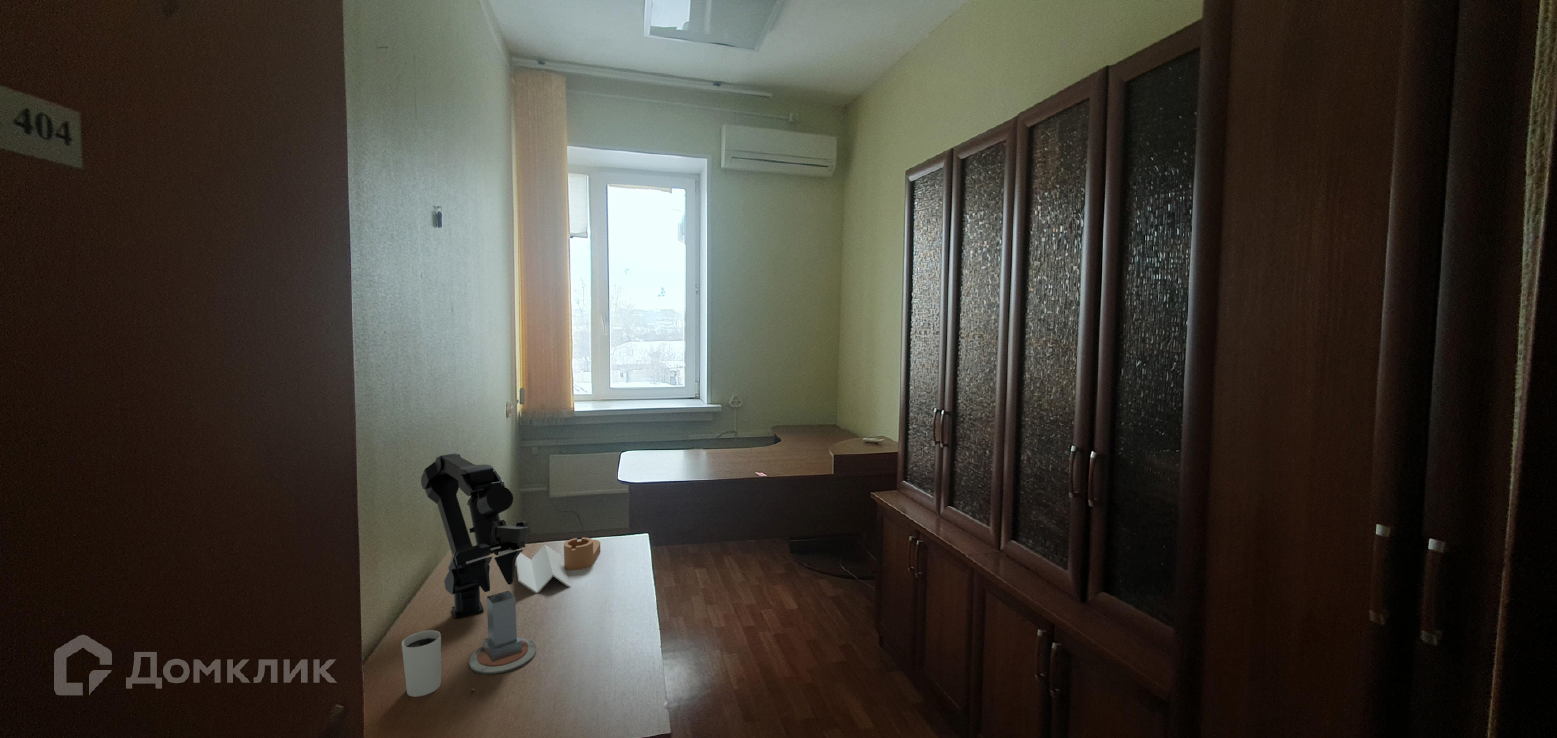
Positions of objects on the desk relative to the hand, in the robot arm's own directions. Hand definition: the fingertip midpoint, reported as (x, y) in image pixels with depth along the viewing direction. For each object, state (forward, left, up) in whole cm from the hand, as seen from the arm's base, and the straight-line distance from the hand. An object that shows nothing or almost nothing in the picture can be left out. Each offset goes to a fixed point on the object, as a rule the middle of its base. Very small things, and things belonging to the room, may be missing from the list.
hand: (499, 587), depth 136 cm
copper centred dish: (+9, -1, -12) cm, 15 cm away
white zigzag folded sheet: (-32, +16, -12) cm, 38 cm away
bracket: (-37, +29, -12) cm, 49 cm away
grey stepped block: (+9, -1, -11) cm, 14 cm away
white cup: (+12, -16, -12) cm, 23 cm away
